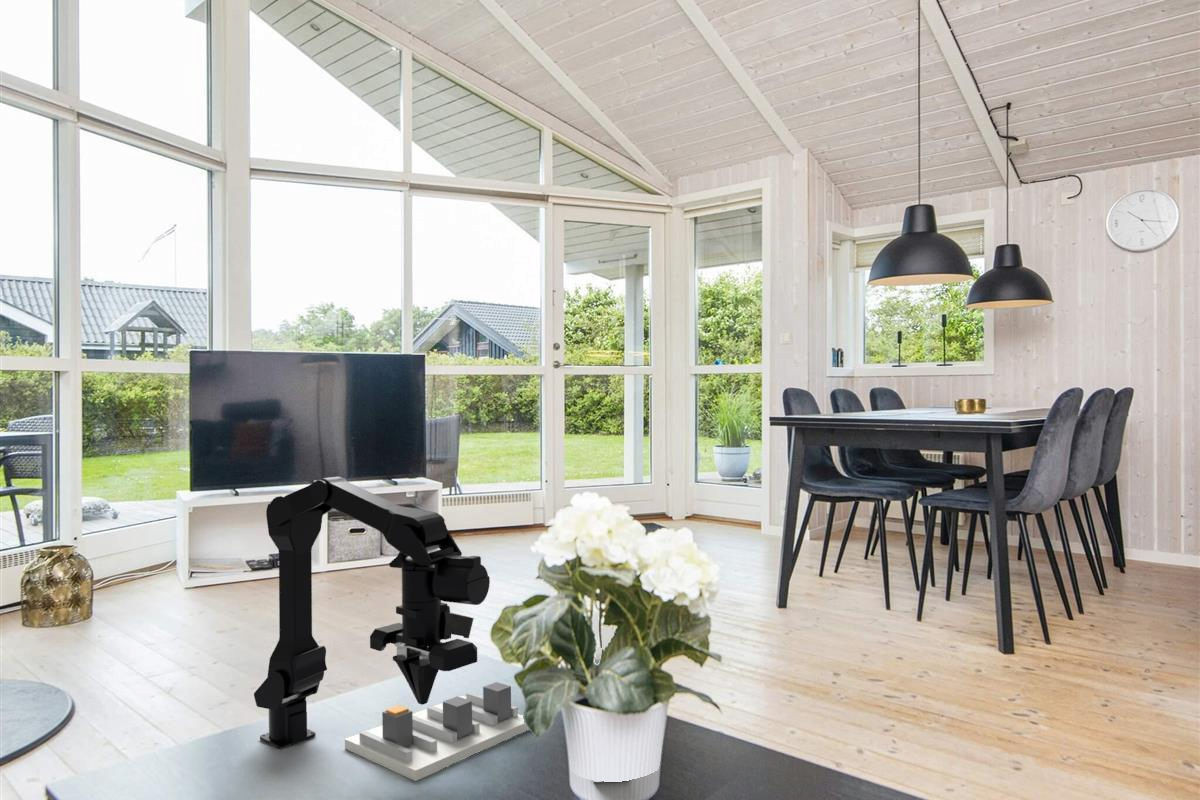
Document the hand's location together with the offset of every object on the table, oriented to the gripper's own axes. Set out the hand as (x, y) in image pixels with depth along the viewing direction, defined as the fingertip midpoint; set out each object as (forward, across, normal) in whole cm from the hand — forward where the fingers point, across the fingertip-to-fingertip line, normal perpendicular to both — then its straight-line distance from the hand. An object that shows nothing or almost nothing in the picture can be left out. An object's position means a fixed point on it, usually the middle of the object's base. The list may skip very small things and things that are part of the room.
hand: (422, 703), depth 120 cm
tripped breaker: (+8, +6, 0) cm, 10 cm away
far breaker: (+8, +2, -17) cm, 19 cm away
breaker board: (+10, +6, -8) cm, 14 cm away
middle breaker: (+8, +2, -8) cm, 12 cm away
